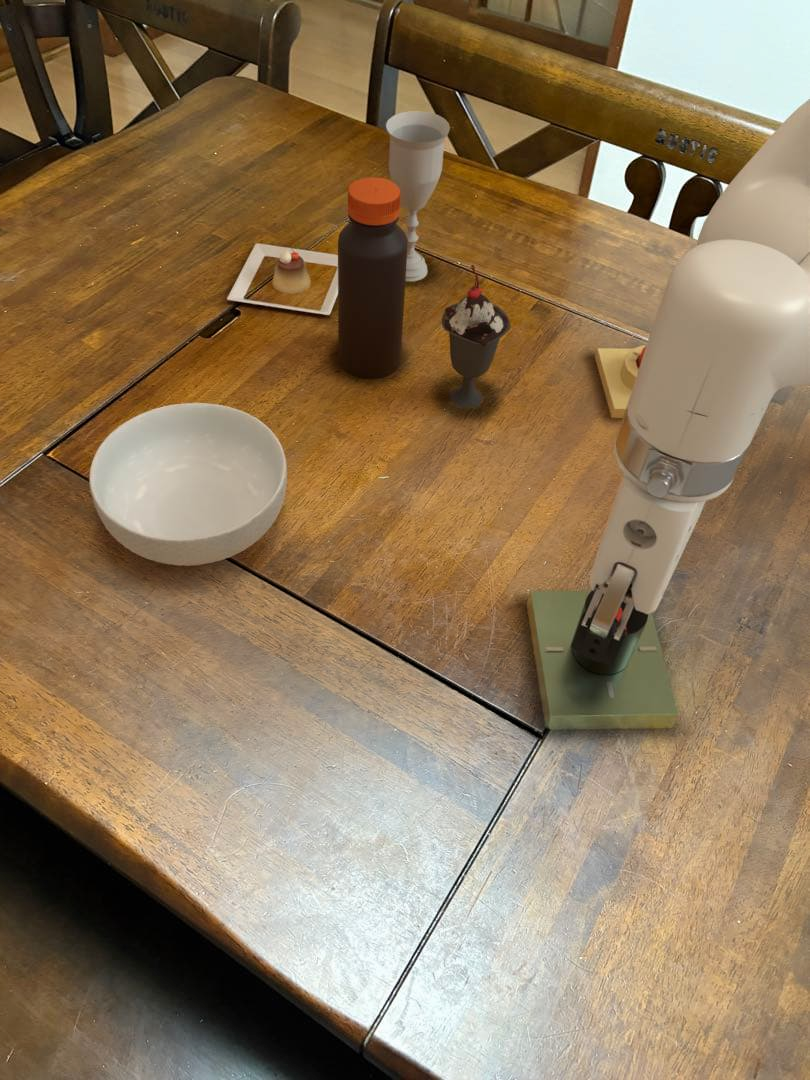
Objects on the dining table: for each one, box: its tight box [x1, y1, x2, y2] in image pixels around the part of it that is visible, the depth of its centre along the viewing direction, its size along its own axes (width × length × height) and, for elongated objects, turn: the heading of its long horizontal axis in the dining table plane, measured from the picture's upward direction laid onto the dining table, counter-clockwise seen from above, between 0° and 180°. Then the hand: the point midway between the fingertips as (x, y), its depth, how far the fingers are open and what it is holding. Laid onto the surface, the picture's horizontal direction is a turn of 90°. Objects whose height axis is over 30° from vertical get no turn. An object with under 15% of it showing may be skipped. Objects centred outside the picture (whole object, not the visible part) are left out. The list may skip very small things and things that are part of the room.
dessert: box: [226, 242, 338, 316], centre depth 106 cm, size 12×12×5 cm
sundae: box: [441, 264, 512, 409], centre depth 91 cm, size 7×7×15 cm
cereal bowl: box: [88, 402, 288, 567], centre depth 81 cm, size 17×17×7 cm
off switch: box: [594, 344, 647, 419], centre depth 98 cm, size 10×10×4 cm
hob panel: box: [526, 590, 679, 730], centre depth 74 cm, size 10×12×3 cm
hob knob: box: [572, 583, 648, 675], centre depth 71 cm, size 5×5×6 cm
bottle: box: [337, 176, 408, 380], centre depth 92 cm, size 7×7×20 cm
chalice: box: [385, 110, 451, 282], centre depth 104 cm, size 7×7×18 cm
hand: (614, 608), depth 69 cm, fingers open, 9 cm apart
